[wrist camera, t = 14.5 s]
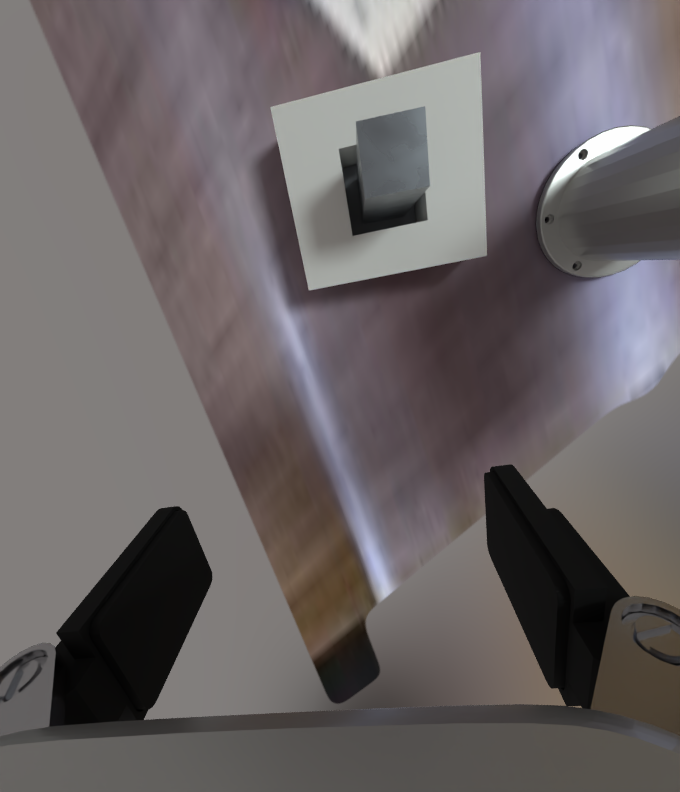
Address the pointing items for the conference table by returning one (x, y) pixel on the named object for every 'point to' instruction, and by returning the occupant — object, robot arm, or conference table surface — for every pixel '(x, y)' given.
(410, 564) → the conference table surface
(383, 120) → the bracket bar
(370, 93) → the well block
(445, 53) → the conference table surface
